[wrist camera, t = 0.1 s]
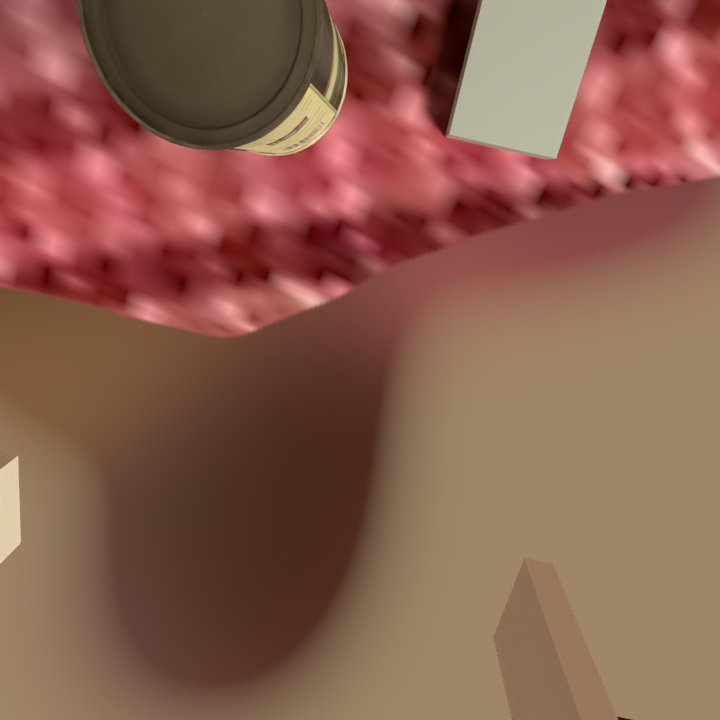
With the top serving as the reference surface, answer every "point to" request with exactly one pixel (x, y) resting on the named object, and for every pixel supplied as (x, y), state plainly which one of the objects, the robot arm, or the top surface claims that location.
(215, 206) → the top surface
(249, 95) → the coffee can
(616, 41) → the top surface
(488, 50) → the grey flat block
